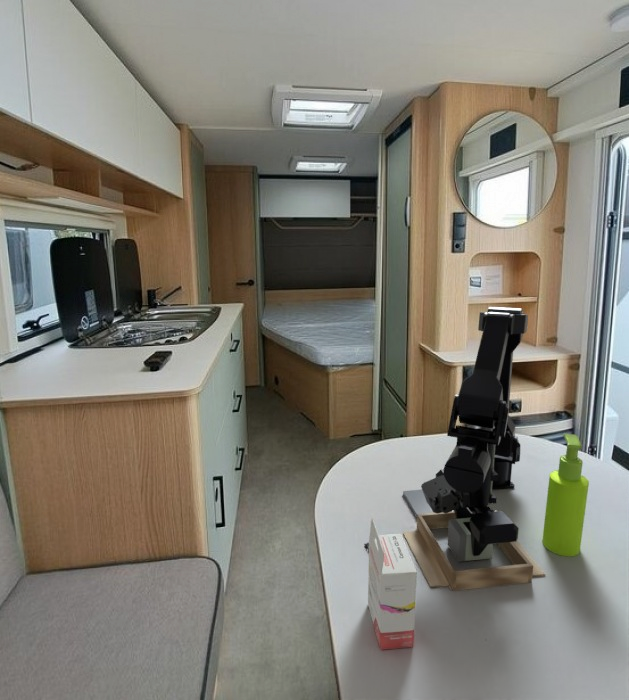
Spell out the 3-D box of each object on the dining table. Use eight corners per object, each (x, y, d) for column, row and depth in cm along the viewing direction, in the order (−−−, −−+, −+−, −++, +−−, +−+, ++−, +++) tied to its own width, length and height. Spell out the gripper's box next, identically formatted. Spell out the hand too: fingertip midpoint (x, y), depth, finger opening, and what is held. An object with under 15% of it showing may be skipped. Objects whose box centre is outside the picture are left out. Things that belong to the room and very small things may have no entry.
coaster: (452, 490, 101) (452, 486, 100) (473, 516, 91) (473, 513, 91) (403, 494, 99) (403, 491, 99) (418, 521, 90) (419, 518, 90)
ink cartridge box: (416, 648, 62) (419, 552, 59) (379, 651, 62) (381, 555, 58) (399, 600, 71) (401, 513, 67) (366, 602, 70) (367, 516, 67)
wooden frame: (497, 520, 90) (499, 506, 89) (549, 580, 74) (551, 563, 73) (401, 529, 87) (401, 515, 87) (433, 593, 72) (434, 576, 71)
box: (479, 541, 83) (481, 516, 82) (492, 558, 79) (494, 532, 78) (447, 544, 82) (448, 519, 81) (458, 561, 78) (459, 535, 77)
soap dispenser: (575, 535, 85) (588, 433, 80) (582, 559, 79) (597, 450, 74) (539, 529, 87) (550, 429, 82) (544, 552, 80) (556, 445, 76)
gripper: (409, 442, 85) (407, 518, 88) (451, 498, 67) (446, 590, 70) (468, 438, 86) (463, 513, 90) (524, 491, 68) (515, 582, 72)
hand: (469, 546), depth 80 cm, fingers closed on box, 4 cm apart
